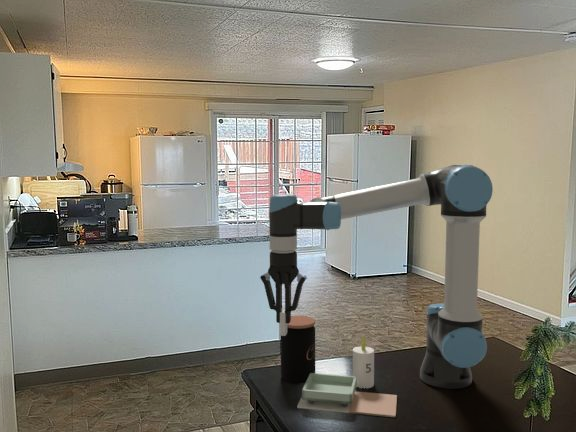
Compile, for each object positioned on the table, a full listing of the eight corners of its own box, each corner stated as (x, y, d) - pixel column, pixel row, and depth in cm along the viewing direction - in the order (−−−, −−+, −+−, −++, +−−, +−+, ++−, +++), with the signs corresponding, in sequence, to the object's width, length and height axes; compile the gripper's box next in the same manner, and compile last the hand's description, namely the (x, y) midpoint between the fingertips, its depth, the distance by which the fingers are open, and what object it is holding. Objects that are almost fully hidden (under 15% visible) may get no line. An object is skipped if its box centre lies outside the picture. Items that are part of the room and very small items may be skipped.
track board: (396, 396, 153) (397, 395, 153) (395, 417, 140) (395, 415, 140) (306, 388, 158) (306, 387, 158) (297, 407, 146) (297, 406, 146)
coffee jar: (312, 385, 160) (312, 326, 159) (277, 383, 163) (276, 324, 161) (317, 372, 171) (317, 316, 169) (284, 369, 173) (284, 314, 171)
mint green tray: (356, 391, 155) (356, 376, 154) (351, 410, 143) (352, 394, 143) (310, 387, 158) (310, 372, 157) (302, 405, 146) (302, 390, 146)
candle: (358, 390, 157) (359, 339, 156) (348, 381, 163) (349, 333, 162) (378, 387, 159) (378, 337, 158) (367, 378, 165) (368, 330, 164)
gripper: (309, 249, 151) (309, 331, 154) (264, 247, 154) (264, 328, 157) (303, 253, 144) (304, 340, 146) (256, 252, 147) (257, 336, 149)
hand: (283, 334), depth 152 cm, fingers closed
